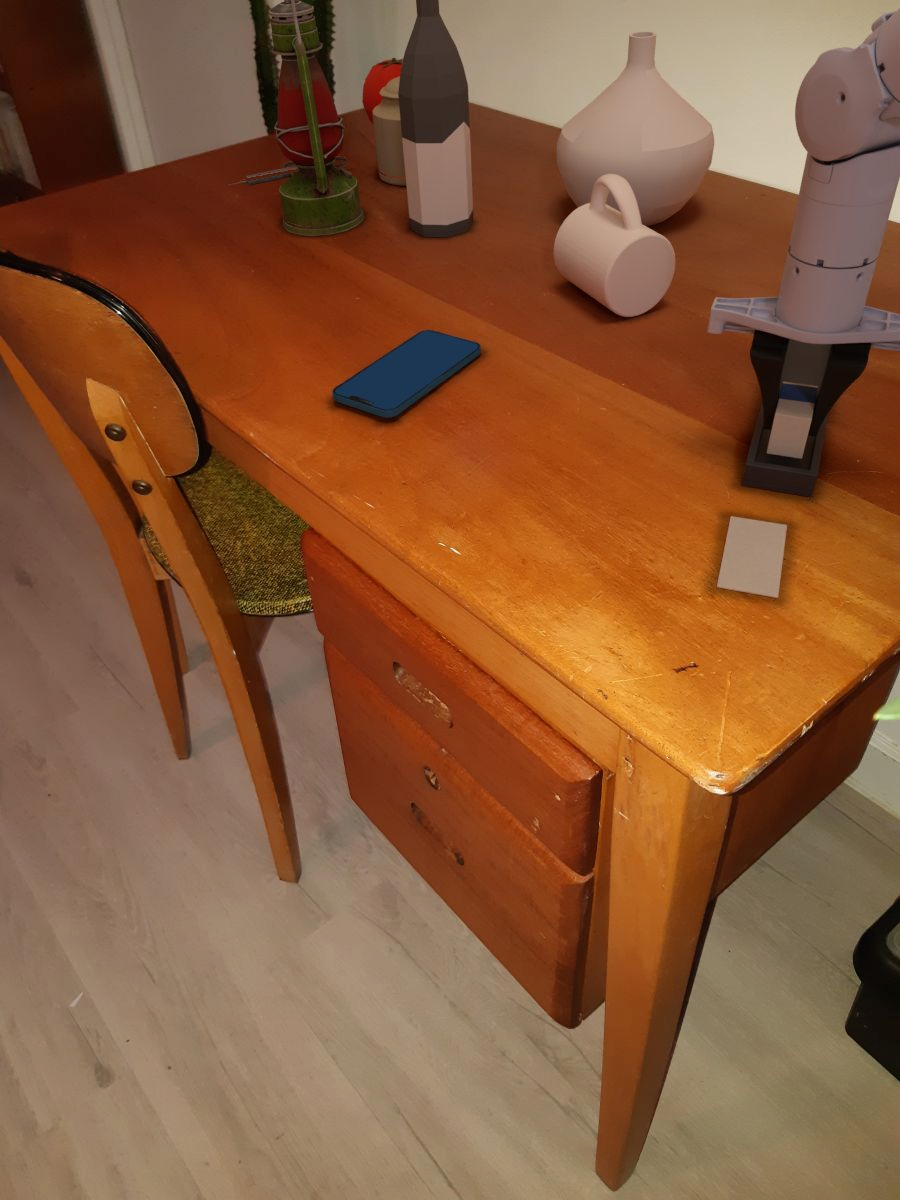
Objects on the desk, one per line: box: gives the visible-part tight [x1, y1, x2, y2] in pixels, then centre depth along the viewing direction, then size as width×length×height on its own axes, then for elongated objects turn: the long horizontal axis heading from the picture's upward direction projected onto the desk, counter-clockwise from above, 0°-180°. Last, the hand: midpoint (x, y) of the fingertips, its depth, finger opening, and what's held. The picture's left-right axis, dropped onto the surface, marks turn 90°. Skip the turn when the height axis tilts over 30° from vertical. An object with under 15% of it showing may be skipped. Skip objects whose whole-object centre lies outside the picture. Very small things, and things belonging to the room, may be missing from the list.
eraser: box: [767, 382, 818, 459], centre depth 68 cm, size 5×3×4 cm, turn 158°
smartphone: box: [331, 329, 482, 419], centre depth 83 cm, size 7×1×15 cm
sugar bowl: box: [372, 56, 407, 187], centre depth 121 cm, size 15×11×15 cm
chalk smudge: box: [716, 515, 788, 599], centre depth 62 cm, size 8×4×1 cm, turn 161°
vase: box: [556, 31, 715, 227], centre depth 103 cm, size 18×18×19 cm
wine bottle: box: [398, 0, 474, 239], centre depth 100 cm, size 8×8×30 cm
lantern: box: [268, 0, 365, 237], centre depth 104 cm, size 14×11×30 cm
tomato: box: [361, 57, 403, 125], centre depth 138 cm, size 11×13×10 cm
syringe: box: [229, 157, 349, 187], centre depth 126 cm, size 8×18×2 cm, turn 115°
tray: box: [740, 339, 832, 498], centre depth 78 cm, size 35×5×2 cm, turn 158°
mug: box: [552, 174, 676, 318], centre depth 89 cm, size 8×10×12 cm
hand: (791, 426), depth 68 cm, fingers closed on eraser, 3 cm apart
